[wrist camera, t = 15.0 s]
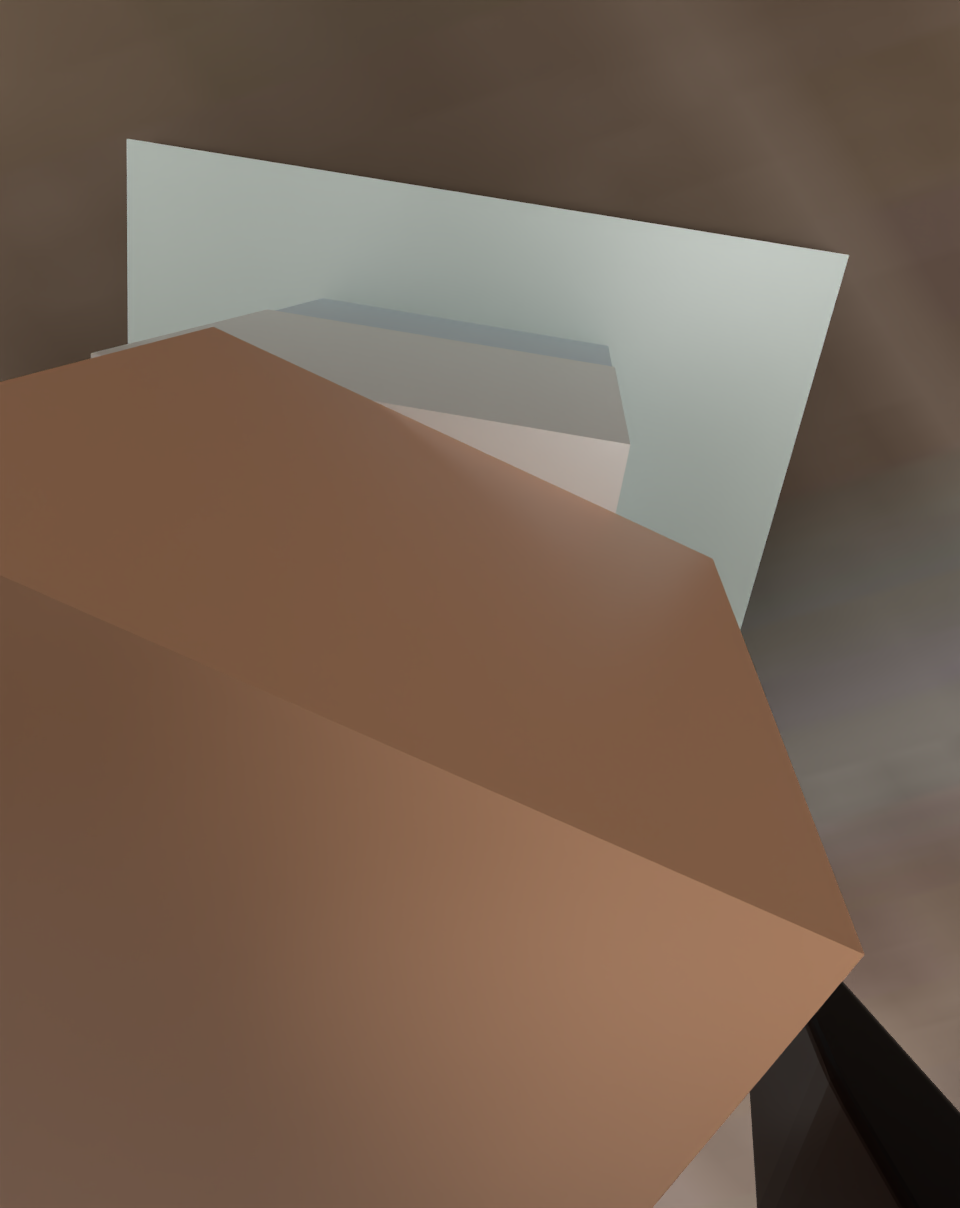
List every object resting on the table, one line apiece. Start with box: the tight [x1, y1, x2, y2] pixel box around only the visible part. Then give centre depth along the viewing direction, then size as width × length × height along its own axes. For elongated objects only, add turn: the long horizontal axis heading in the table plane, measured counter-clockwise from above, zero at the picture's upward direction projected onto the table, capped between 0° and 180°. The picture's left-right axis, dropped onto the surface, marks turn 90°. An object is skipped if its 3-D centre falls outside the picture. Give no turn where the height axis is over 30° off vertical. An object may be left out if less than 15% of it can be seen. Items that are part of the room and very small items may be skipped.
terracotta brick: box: [0, 327, 865, 1208], centre depth 8 cm, size 5×8×5 cm, turn 156°
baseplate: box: [127, 139, 849, 630], centre depth 16 cm, size 12×12×4 cm
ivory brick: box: [91, 309, 630, 514], centre depth 12 cm, size 5×8×5 cm, turn 172°
